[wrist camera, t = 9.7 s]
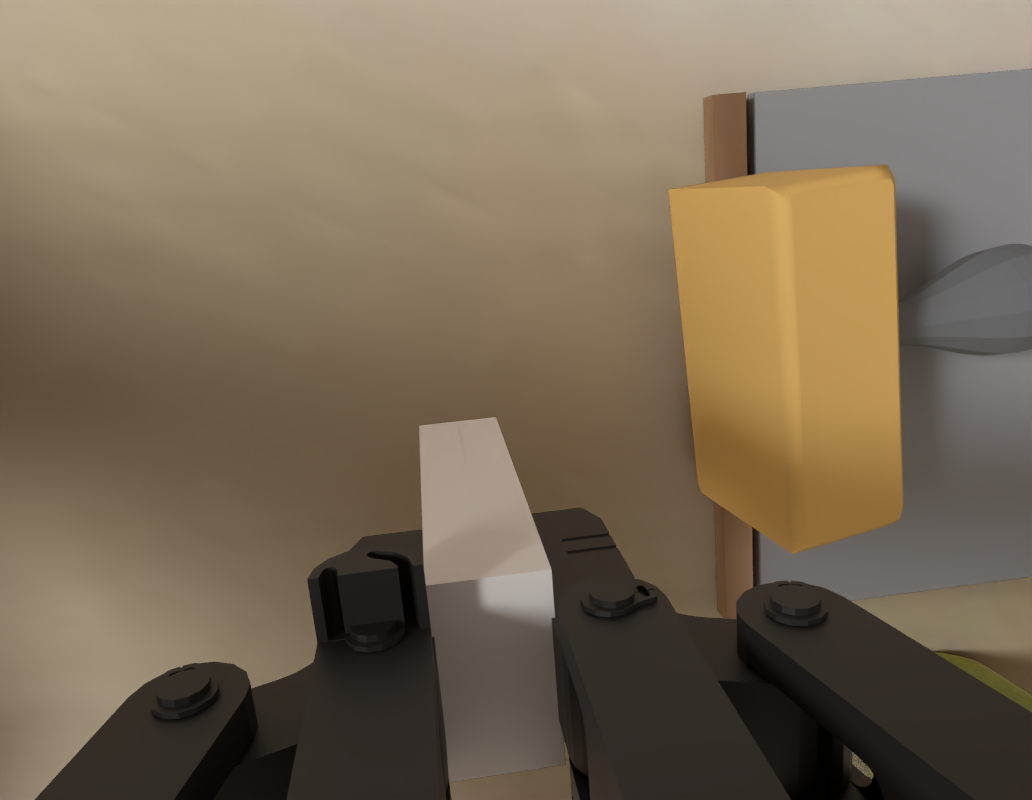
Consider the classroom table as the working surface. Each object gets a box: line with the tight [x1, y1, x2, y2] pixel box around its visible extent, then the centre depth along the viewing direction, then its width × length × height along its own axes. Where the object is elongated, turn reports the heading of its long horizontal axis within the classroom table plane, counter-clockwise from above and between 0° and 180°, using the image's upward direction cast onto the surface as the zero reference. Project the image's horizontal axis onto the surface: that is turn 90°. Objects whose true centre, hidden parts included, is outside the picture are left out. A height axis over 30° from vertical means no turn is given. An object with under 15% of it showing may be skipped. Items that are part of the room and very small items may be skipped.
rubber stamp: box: [668, 164, 1032, 554], centre depth 25 cm, size 10×6×12 cm
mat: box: [748, 69, 1032, 601], centre depth 28 cm, size 11×18×1 cm, turn 5°
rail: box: [703, 92, 753, 619], centre depth 28 cm, size 1×18×1 cm, turn 5°
